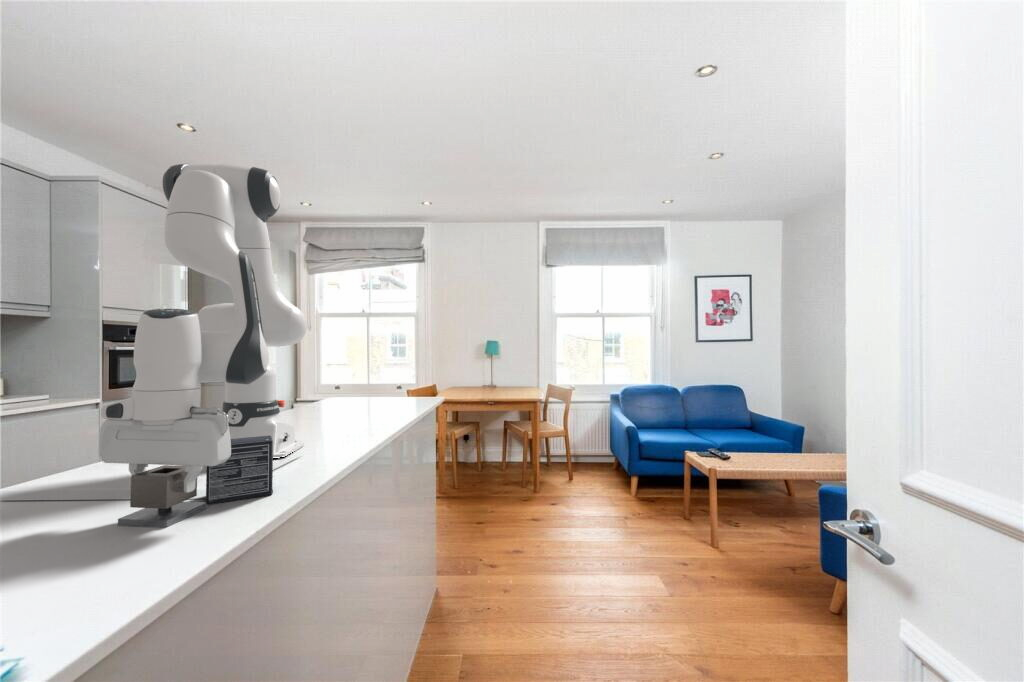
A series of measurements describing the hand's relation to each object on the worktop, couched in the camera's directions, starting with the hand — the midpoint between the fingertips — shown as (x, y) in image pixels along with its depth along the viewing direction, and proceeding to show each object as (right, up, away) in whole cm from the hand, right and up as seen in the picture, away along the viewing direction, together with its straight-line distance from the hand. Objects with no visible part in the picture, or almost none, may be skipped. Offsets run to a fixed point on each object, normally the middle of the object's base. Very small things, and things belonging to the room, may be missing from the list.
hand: (165, 490), depth 71 cm
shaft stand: (0, -4, 0) cm, 4 cm away
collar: (0, -2, 0) cm, 2 cm away
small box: (+6, -5, +11) cm, 13 cm away
